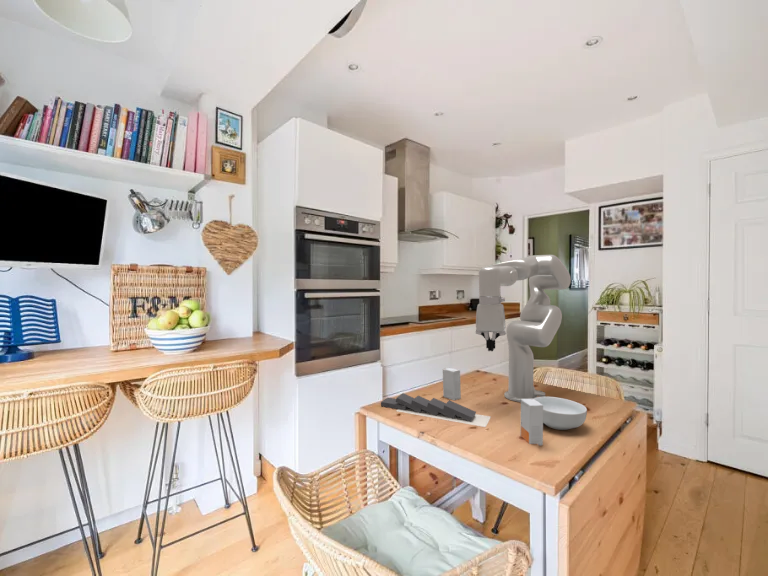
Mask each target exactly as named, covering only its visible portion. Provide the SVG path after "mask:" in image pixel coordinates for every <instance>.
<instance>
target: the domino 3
mask: <svg viewBox="0 0 768 576" xmlns="http://www.w3.org/2000/svg"><path fill="white" fill-rule="evenodd" d="M413 398H414V399H413V400H412V403H411V404H412V405H414V406H416V407H418V408H420V409H422V410H425V411H427V412H429V413H431V414H433V415H436V416H437V415H438V414H439V412H437V411H435V410H433V409H431V408H428V407H427V405H428V402H430V401H431V400H429V399H426V398H425V397H422V396H420V395H417V396H416V397H413Z"/></svg>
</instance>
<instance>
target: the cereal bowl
mask: <svg viewBox="0 0 768 576" xmlns="http://www.w3.org/2000/svg"><path fill="white" fill-rule="evenodd" d="M534 400H536V401H538V402H539V403H540V404H542V405H543V425H545V426H547V427H548V428H550V429H553V430H554V429H555V430H559V431H565V430H570V429H575V428H576V429H577V428H579V427H580V426H583V424H584V423H585V421H586V419H587V415H588V414H587V413H588V409H587V407H586V406H585V405H584V404H582V403H579V402H578V401H577V402H576V401H574V400H570V399H567V398H563V397H556V396H545V397H540V396H537V397H536V398H534Z"/></svg>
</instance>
